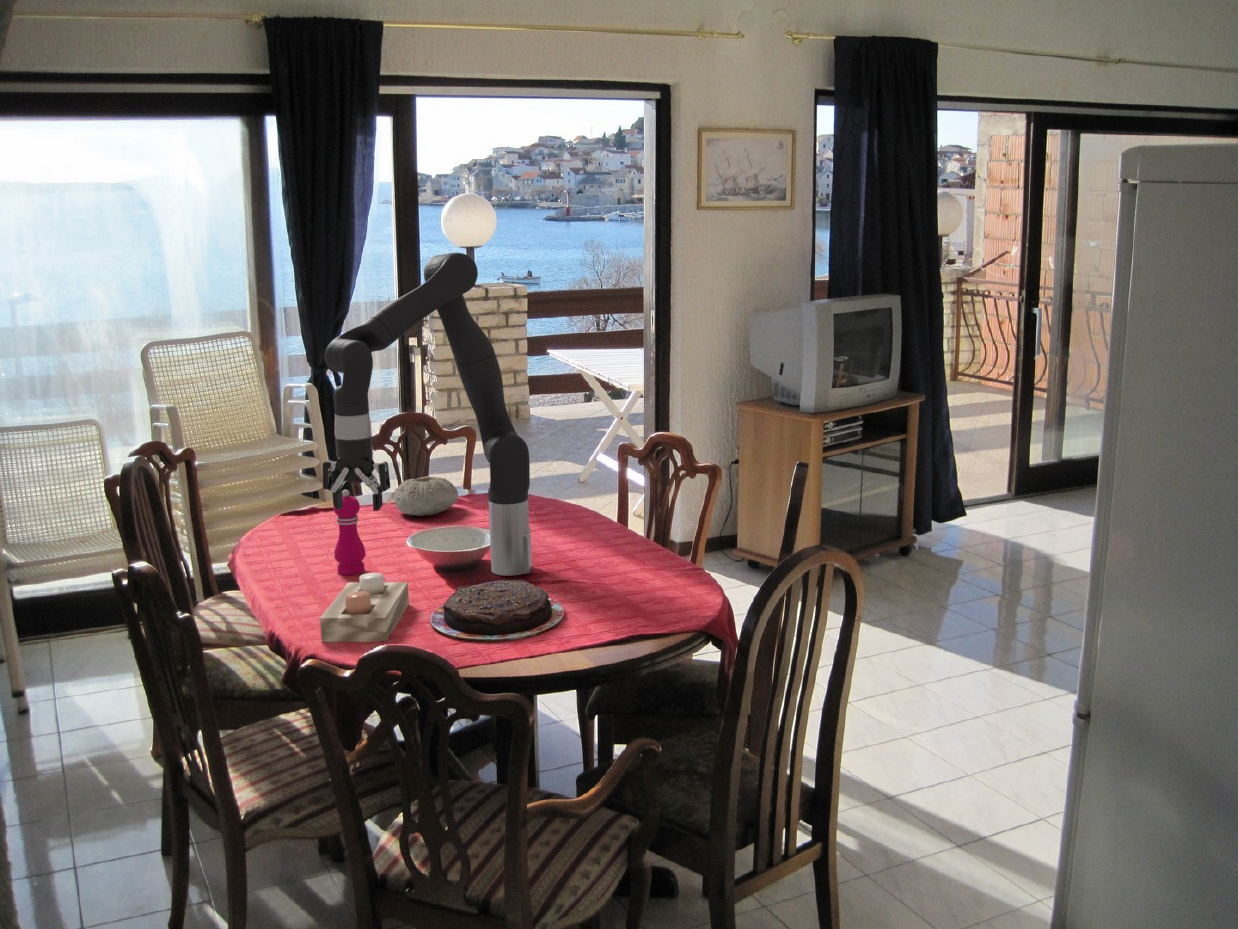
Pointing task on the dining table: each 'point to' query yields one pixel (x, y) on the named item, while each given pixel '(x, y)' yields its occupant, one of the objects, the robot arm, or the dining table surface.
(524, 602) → the chocolate cake
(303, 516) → the dining table surface
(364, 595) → the terracotta button
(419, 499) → the decorative shell
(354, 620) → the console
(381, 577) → the cream button
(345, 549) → the pepper mill
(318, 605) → the dining table surface
